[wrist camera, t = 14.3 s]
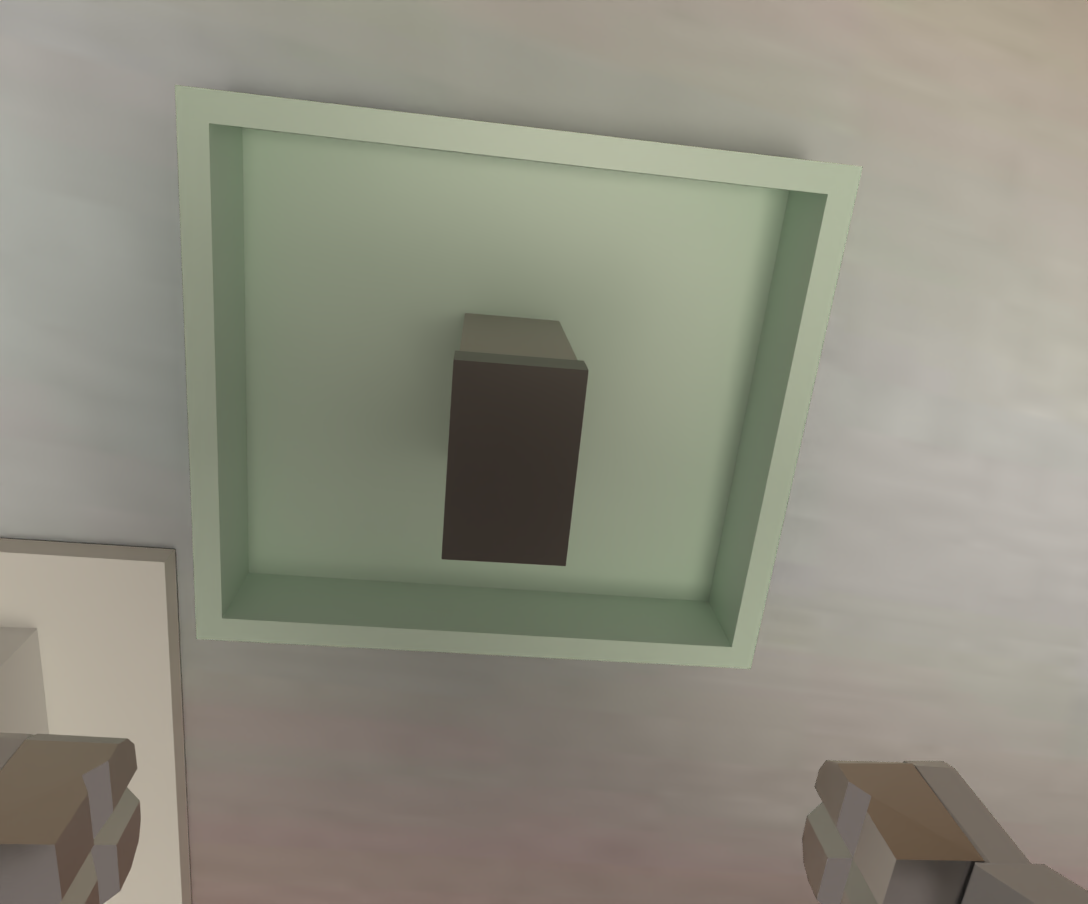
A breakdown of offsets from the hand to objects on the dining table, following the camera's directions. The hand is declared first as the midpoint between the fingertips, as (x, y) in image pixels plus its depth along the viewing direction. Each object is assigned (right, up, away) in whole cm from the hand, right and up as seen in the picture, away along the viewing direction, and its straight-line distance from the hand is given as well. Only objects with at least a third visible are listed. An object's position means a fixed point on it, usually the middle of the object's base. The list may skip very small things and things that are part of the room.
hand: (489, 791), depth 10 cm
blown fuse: (-1, +6, +17) cm, 18 cm away
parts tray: (-1, +6, +18) cm, 19 cm away
